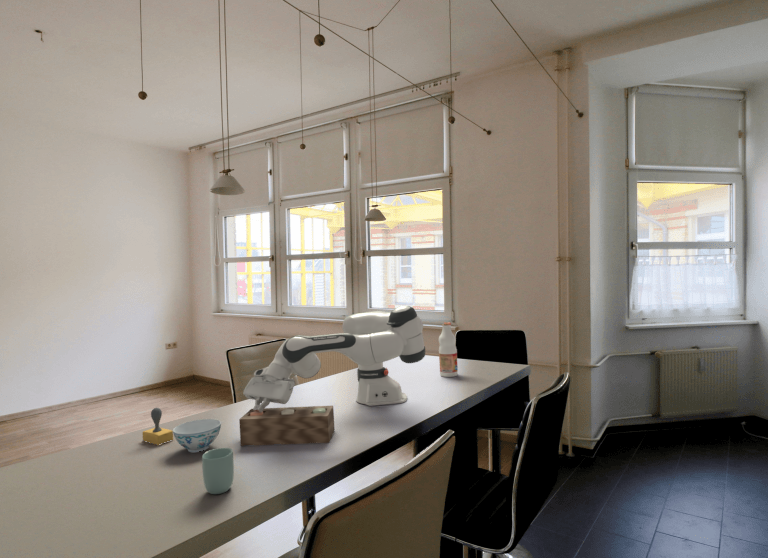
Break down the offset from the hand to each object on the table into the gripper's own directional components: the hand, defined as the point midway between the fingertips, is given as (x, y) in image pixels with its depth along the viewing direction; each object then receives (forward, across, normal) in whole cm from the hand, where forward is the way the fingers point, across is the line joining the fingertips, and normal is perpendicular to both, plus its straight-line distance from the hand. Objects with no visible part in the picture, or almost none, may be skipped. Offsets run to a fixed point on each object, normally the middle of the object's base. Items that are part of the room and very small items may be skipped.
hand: (256, 411), depth 158 cm
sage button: (-5, -19, -11) cm, 22 cm away
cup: (+30, -20, +15) cm, 39 cm away
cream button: (-1, -9, -7) cm, 11 cm away
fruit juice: (-72, -22, -86) cm, 115 cm away
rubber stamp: (+19, +33, +4) cm, 39 cm away
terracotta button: (+3, 0, -3) cm, 4 cm away
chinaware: (+18, +12, +3) cm, 22 cm away
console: (+3, -9, -11) cm, 15 cm away
